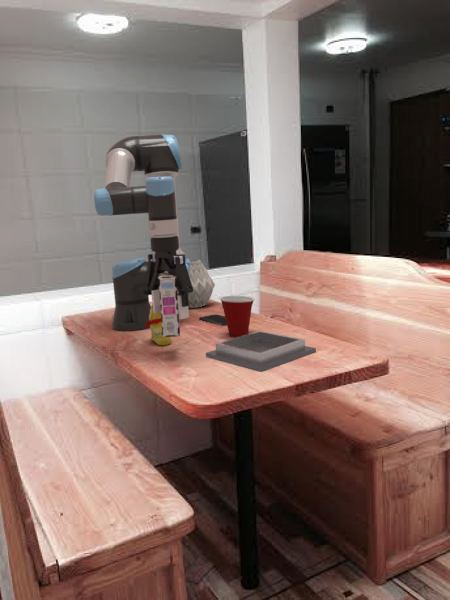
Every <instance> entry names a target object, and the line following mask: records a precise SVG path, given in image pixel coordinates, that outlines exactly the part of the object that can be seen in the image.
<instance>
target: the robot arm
mask: <svg viewBox="0 0 450 600" xmlns="http://www.w3.org/2000/svg"><path fill="white" fill-rule="evenodd" d="M104 161H105V167H106V175H105V180H104V186H103V187H102V188H97V189H95V190H94V193H93V201H94V208H95V213H96V214H97V215H98V216H101V217H103V216H104V217H105V216H109V217H113V216H123V215H125V216H126V215H135V214H136V215H137V214H139V215H140V214H148V227H149V235H150V236H152V237H151V238H150V249H151V250H150V251H152V252H153V253H149V254H148V255H147V259H148V260H147V259H146V258H145V257H137V258H136V257H135V258H132V259H131V258H130V259H126V260H125V259H124V260H122V261H119V262H116V263H115V264H114V263H113V266H112V268H111V270H112V272H111V273H112V276H111V279H112V283H113V294H114V305H115V307H114V311H113V315H112V321H111V323H112V325H111V326H112V329H113V330H115V331H121V332H122V331H123V332H126V331H139V330H145V329H146V327H145V324H146V323H147V321H149V313H150V309H151V306H152V305H153V312H154V313H159V312H161V306H160V292H159V280H158V277H159V274H160V273H164V272H165V271H167V272H168V273H169V274H170V275H172V276H176V282H177V290H178V294H177V297H178V309H179V319H180V320H184V319H188V318H190V311H189V308H188V306H189V301H188V294H189V293H191V292H193V287H192V284H191V280H190V277H189V268H190V260H191V259H189V258H186V253H185V252H184V251H183V250H182V249H181V245H180V244H181V242H180V232H179V219H178V218H179V217H178V205H177V193H176V192H177V191H176V178H177V177H178V176H179V174H180V173H179V171H180V170H182V168H183V163H182V162H183V161H182V156H181V152H180V145H179V143H178V139H177V138H176V136H175V135H173V134H163V133H161V134H150V135H149V134H148V135H132V136H131V135H130V136H127V137H125V138H121V139H120V140H118V141H117V142H115V143H114V144H113V145H112V146H111V147H110V148H109V149H108V151H107V152H106V156H105V160H104ZM132 172H134V173H135V172H143V173H144V178H146V179H145V185H142V186H141V185H140V186H139V185H138V186H137V185H136V186H131V185H132ZM149 296H151V301H152V305H151V304H150V297H149ZM147 329H150V324H149V327H148V328H147Z"/></svg>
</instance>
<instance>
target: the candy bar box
mask: <svg viewBox="0 0 450 600" xmlns="http://www.w3.org/2000/svg"><path fill="white" fill-rule="evenodd" d="M158 280H159V292H160V306H161V319H162V333H163V337H171V338H173V337H181V319H179V309H178V297H177V294H178V290H177V282H176V276H172V275H170V274H169V273H168V272H167V271H165V272H164V273H160V274H159V277H158Z"/></svg>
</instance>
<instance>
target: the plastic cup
mask: <svg viewBox="0 0 450 600" xmlns="http://www.w3.org/2000/svg"><path fill="white" fill-rule="evenodd" d="M255 299H256V298H255V297H252V296H247V295H224V296H221V297H219V300H220V303H221V305H222V309H223V314H224V316H225V319H226V324H227V331H228V335H229V337H232V338H236V337H240V336H243V335H246V334H249V330H250V323H251V315H252V314H251V313H252V308H253V304H254V301H255Z"/></svg>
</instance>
